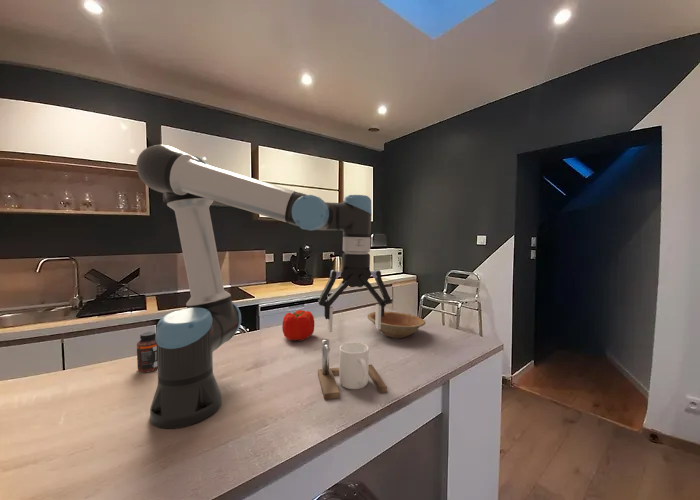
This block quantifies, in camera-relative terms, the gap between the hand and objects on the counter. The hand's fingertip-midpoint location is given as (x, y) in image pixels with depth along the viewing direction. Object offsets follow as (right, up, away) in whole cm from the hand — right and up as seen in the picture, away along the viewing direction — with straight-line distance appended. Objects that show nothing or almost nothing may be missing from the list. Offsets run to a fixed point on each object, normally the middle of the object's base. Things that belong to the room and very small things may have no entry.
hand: (354, 329), depth 84 cm
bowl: (+18, -14, +43) cm, 48 cm away
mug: (+1, -16, +1) cm, 16 cm away
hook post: (-8, -14, +3) cm, 17 cm away
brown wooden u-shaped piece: (-1, -16, +3) cm, 16 cm away
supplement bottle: (-64, -15, +11) cm, 67 cm away
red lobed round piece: (-22, -14, +39) cm, 47 cm away
